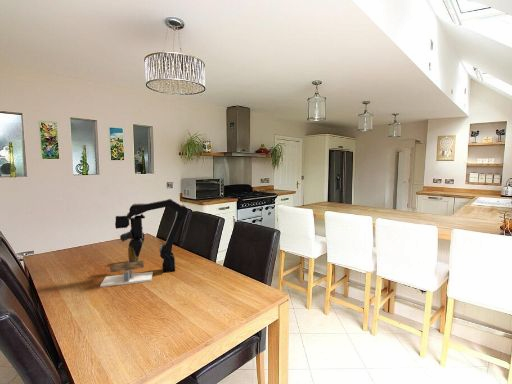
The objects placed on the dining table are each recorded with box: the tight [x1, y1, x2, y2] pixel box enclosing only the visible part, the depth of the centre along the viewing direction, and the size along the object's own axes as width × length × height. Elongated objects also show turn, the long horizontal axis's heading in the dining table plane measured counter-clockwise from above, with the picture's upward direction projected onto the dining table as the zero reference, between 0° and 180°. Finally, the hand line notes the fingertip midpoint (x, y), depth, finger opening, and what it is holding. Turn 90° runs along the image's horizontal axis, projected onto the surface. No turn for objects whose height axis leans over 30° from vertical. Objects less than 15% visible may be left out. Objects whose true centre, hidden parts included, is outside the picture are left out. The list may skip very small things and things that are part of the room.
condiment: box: [126, 245, 140, 263], centre depth 174 cm, size 7×8×12 cm
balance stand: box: [99, 269, 154, 288], centre depth 148 cm, size 24×11×6 cm, turn 106°
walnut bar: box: [109, 260, 145, 273], centre depth 147 cm, size 16×3×3 cm, turn 112°
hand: (138, 253), depth 154 cm, fingers open, 9 cm apart
